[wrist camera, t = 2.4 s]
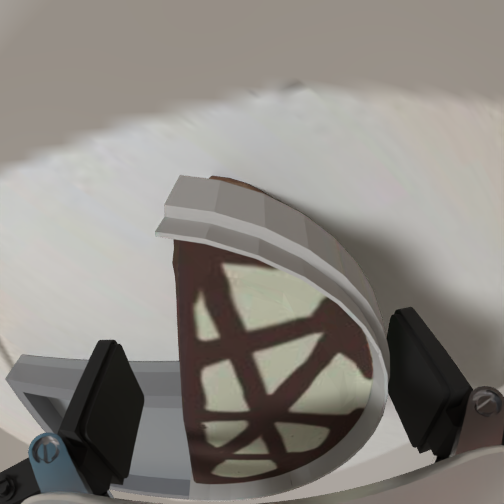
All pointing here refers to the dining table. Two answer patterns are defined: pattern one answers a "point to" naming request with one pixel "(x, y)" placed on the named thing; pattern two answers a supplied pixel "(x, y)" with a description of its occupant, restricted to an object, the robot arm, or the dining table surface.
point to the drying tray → (150, 428)
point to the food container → (269, 342)
